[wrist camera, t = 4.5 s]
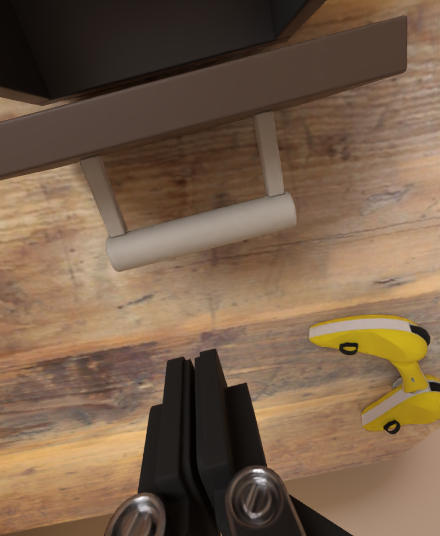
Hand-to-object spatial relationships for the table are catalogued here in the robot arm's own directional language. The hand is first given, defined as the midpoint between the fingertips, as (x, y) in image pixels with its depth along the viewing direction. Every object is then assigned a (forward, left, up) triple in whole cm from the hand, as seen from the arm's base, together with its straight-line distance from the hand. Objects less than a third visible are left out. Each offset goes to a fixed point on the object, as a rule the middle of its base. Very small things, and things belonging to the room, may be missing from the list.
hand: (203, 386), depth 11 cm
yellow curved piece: (-10, +9, -9) cm, 16 cm away
